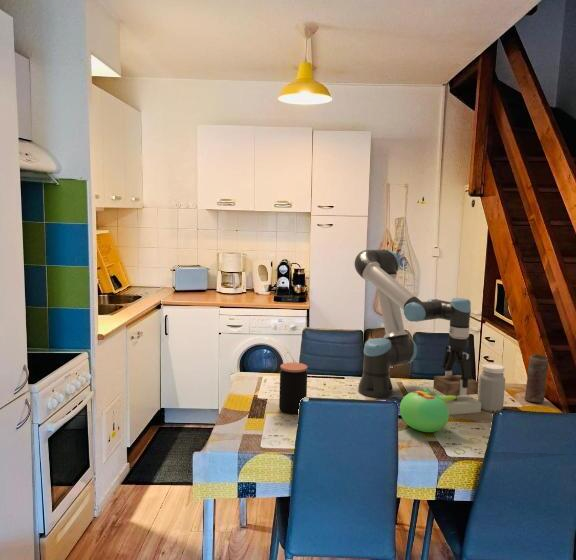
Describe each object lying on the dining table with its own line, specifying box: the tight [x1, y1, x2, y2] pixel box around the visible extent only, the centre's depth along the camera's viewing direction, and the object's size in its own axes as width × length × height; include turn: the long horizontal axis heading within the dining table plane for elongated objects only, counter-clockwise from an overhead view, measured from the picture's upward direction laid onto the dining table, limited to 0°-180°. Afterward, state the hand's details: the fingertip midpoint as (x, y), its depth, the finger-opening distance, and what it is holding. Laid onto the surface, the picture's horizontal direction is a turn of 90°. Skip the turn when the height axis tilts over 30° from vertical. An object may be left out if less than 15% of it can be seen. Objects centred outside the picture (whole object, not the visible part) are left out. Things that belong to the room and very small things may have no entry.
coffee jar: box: [278, 362, 308, 416], centre depth 196 cm, size 11×11×18 cm
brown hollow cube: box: [432, 374, 479, 396], centre depth 202 cm, size 14×10×5 cm
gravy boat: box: [399, 387, 457, 433], centre depth 181 cm, size 18×17×15 cm
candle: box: [524, 353, 549, 404], centre depth 214 cm, size 8×7×20 cm
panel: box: [446, 395, 482, 416], centre depth 203 cm, size 18×10×8 cm, turn 104°
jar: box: [477, 362, 506, 413], centre depth 204 cm, size 10×10×18 cm
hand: (455, 390), depth 202 cm, fingers closed on brown hollow cube, 10 cm apart
